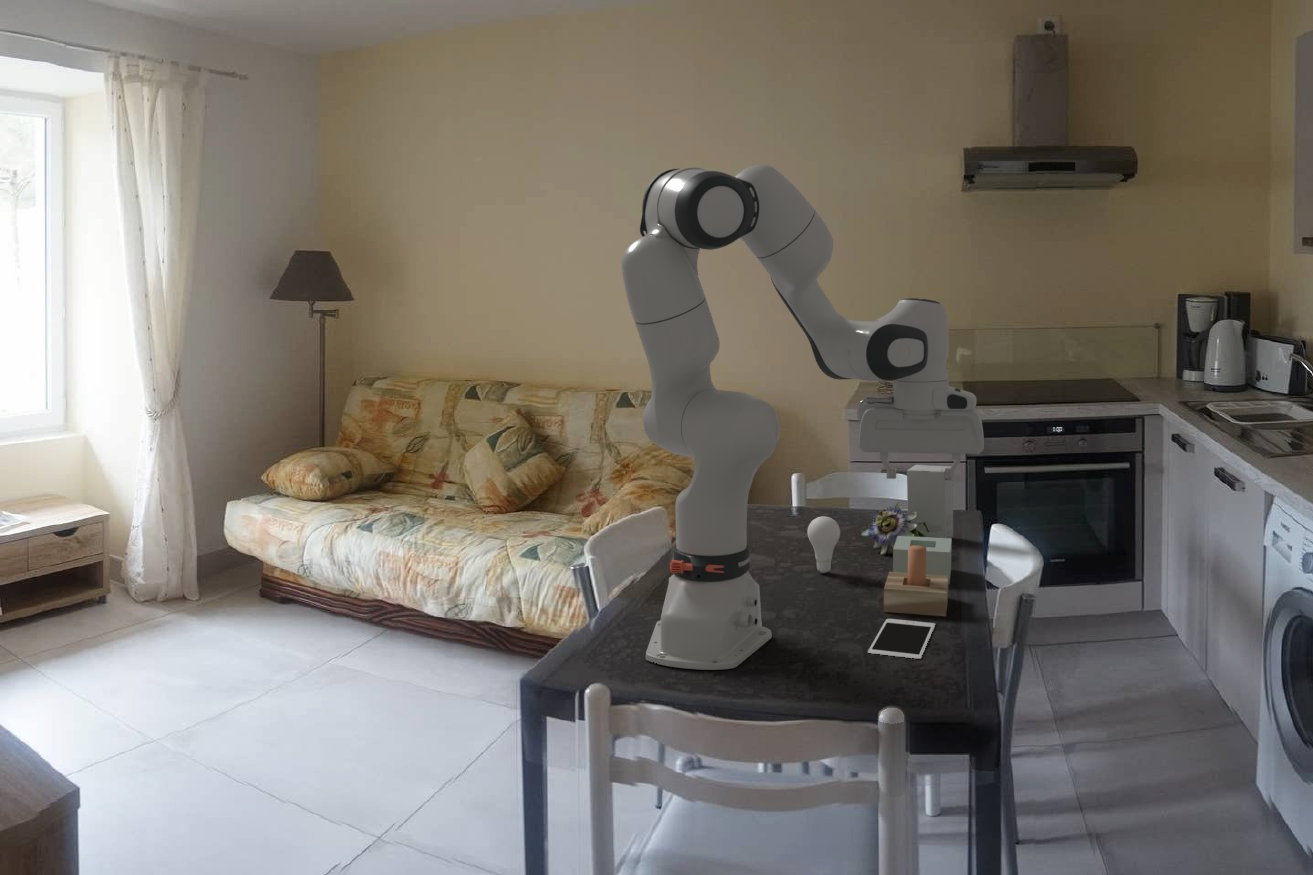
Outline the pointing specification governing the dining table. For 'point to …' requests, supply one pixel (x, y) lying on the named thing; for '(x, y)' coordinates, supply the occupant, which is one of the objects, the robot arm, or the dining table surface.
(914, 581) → the pin
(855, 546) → the dining table surface
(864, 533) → the passion flower
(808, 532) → the lightbulb
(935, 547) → the socket
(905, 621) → the cell phone
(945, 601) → the mount
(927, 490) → the skincare box
